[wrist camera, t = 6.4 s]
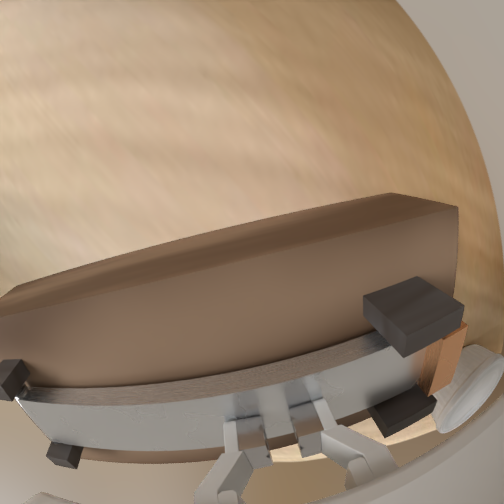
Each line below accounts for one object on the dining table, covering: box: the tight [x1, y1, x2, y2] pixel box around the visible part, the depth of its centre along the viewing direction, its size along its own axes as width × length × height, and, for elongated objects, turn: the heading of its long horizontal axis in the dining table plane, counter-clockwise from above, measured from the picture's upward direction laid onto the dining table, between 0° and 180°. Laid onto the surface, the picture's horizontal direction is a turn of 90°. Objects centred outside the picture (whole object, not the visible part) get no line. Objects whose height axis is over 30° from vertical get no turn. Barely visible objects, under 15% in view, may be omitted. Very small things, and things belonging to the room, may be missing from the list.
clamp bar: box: [15, 321, 468, 451], centre depth 9 cm, size 4×23×2 cm, turn 102°
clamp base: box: [0, 193, 464, 469], centre depth 12 cm, size 12×27×9 cm, turn 102°
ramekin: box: [431, 344, 504, 433], centre depth 21 cm, size 11×11×5 cm
